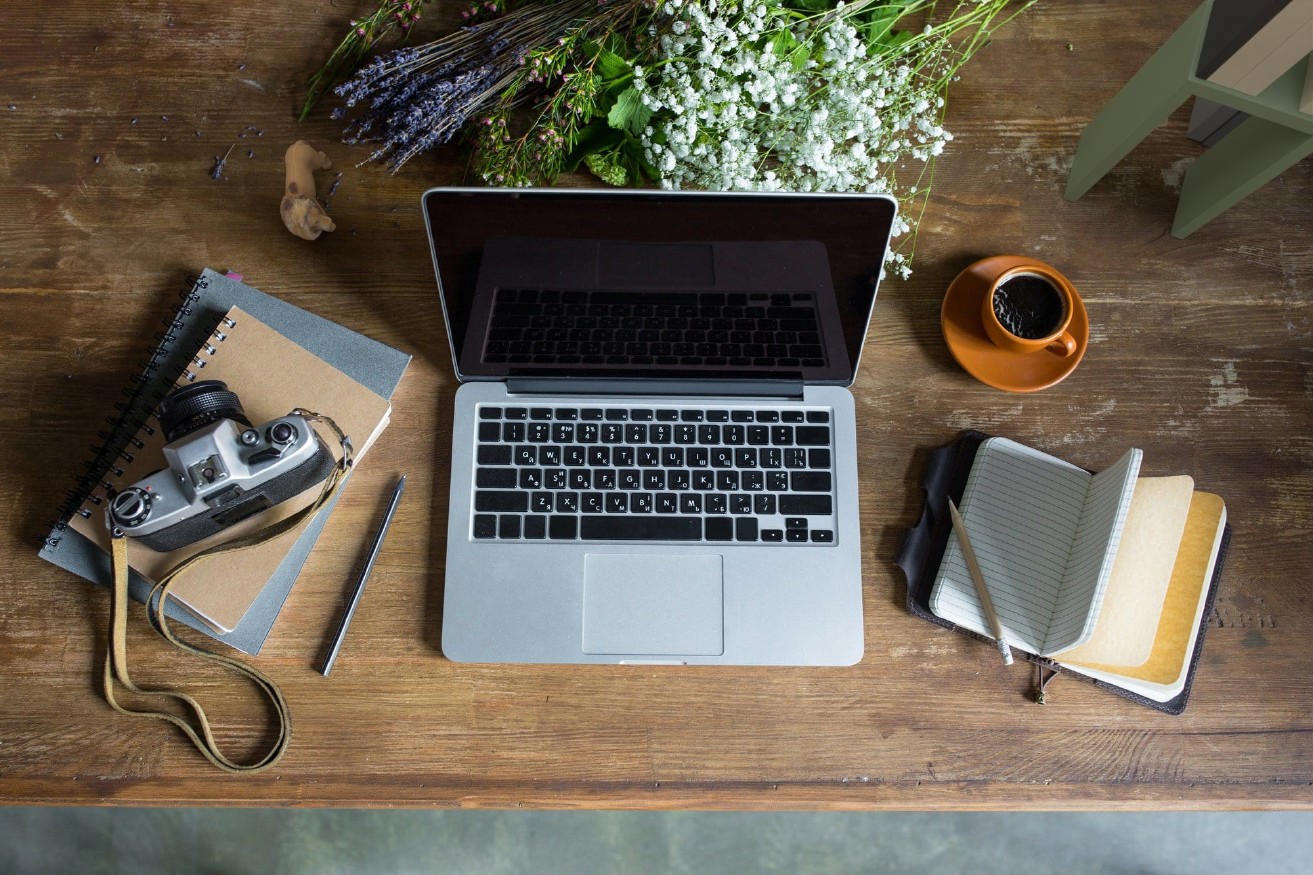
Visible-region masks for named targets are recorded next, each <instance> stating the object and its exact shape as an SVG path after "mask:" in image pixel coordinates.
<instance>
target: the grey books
mask: <svg viewBox="0 0 1313 875" xmlns="http://www.w3.org/2000/svg"><path fill="white" fill-rule="evenodd" d="M1251 115H1252V114H1249V113H1246V112H1243V111H1240V110H1237V109H1234V108H1231V107H1228V106H1225V105H1222V104H1219V103H1216V102H1213V101H1210V100H1207V99H1204V98H1202V97H1199V96H1196V95H1195V98H1194V103H1193V107H1192V111H1191V115H1190V118H1189V122H1188V127H1187V131H1186V136H1185V137H1186V138H1188V139H1191V140H1192V141H1193V140H1194V141H1197V142H1199V143H1201V145H1202V146H1204V147H1208V148H1209V149H1210V148H1211V147H1212V146H1214V145H1215V144H1216V143H1217V142H1219V141H1220V140H1221V139H1222V138H1224V137H1225V136H1226V135H1227V134H1229V133H1230V132H1231V131H1232V130H1234V129H1235V128H1236V127H1237V126H1239V125H1240V124H1241V123H1242V122H1244V121H1245V120H1246V119H1248V118H1249V117H1250V116H1251Z"/></svg>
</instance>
